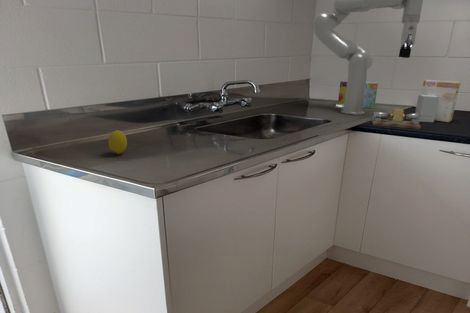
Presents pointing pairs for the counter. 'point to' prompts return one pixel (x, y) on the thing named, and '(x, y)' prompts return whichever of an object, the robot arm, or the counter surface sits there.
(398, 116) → the coupler
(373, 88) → the snack box
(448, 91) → the coffeecake box
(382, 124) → the bench board
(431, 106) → the supplement box
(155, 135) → the counter surface
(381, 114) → the shaft stubs
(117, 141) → the lemon
